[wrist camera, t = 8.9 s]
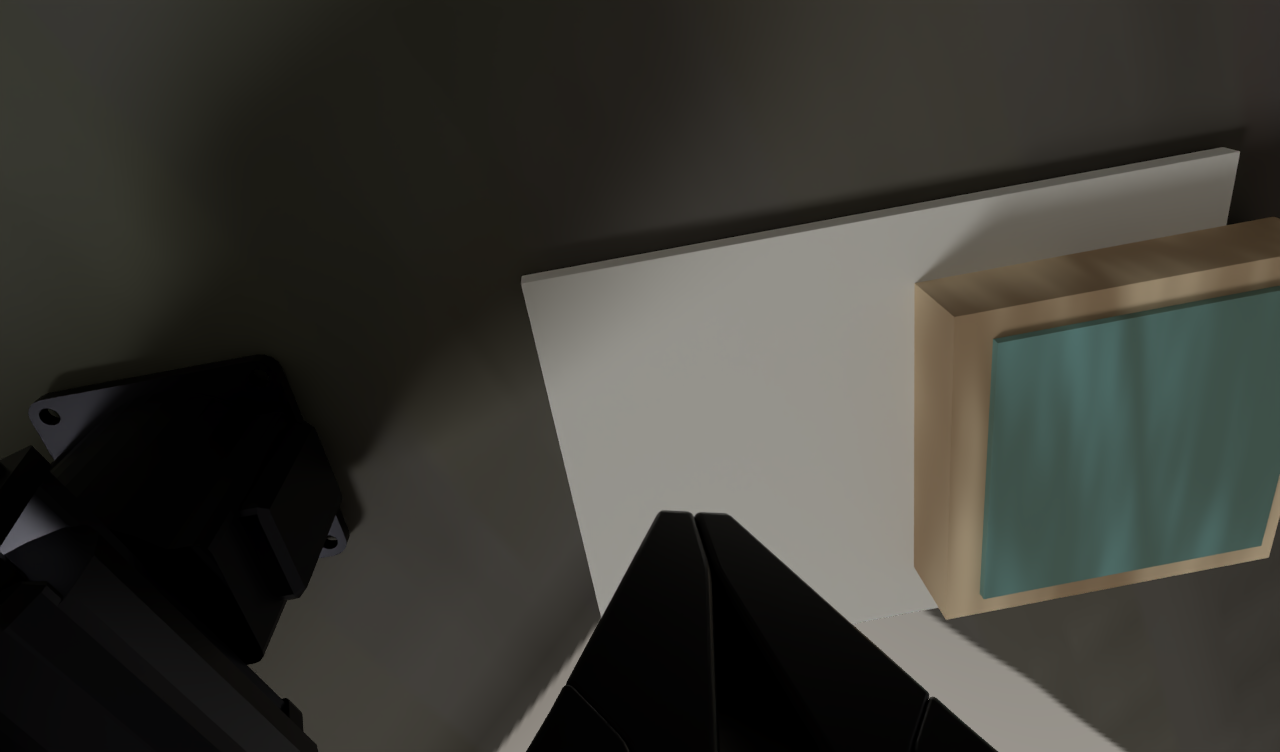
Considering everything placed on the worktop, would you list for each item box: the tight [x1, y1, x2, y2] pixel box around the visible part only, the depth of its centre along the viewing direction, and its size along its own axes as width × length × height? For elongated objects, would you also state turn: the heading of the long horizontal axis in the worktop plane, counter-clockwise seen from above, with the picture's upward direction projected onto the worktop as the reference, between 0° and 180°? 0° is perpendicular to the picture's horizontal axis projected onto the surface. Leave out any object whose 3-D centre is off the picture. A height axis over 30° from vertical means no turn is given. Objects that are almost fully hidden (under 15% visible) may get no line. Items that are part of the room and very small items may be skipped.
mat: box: [521, 147, 1240, 624], centre depth 24 cm, size 19×14×1 cm
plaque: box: [914, 217, 1280, 620], centre depth 23 cm, size 3×10×10 cm
